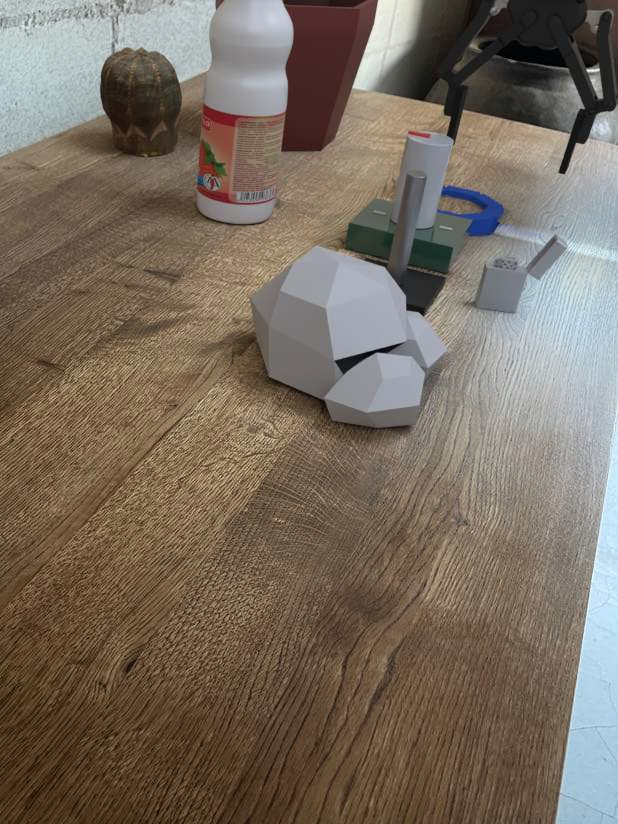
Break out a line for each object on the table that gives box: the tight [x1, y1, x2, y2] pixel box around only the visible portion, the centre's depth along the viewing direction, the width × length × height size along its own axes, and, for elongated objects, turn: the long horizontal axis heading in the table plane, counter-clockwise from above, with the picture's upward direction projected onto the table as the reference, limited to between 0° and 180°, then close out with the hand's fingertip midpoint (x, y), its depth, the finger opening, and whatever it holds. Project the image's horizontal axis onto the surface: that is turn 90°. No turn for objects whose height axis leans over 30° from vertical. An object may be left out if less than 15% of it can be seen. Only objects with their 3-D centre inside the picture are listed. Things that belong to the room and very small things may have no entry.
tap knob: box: [391, 129, 454, 229], centre depth 102 cm, size 5×5×9 cm
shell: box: [99, 46, 183, 158], centre depth 124 cm, size 11×11×12 cm
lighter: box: [473, 234, 569, 314], centre depth 93 cm, size 7×2×8 cm, turn 80°
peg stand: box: [362, 170, 447, 317], centre depth 93 cm, size 9×9×12 cm
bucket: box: [214, 0, 379, 152], centre depth 129 cm, size 24×22×25 cm
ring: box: [437, 184, 505, 237], centre depth 115 cm, size 12×12×2 cm
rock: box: [249, 245, 449, 429], centre depth 78 cm, size 18×20×10 cm
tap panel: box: [344, 197, 473, 274], centre depth 105 cm, size 12×10×3 cm
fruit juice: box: [195, 0, 294, 225], centre depth 102 cm, size 9×9×28 cm
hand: (504, 158), depth 109 cm, fingers open, 13 cm apart
